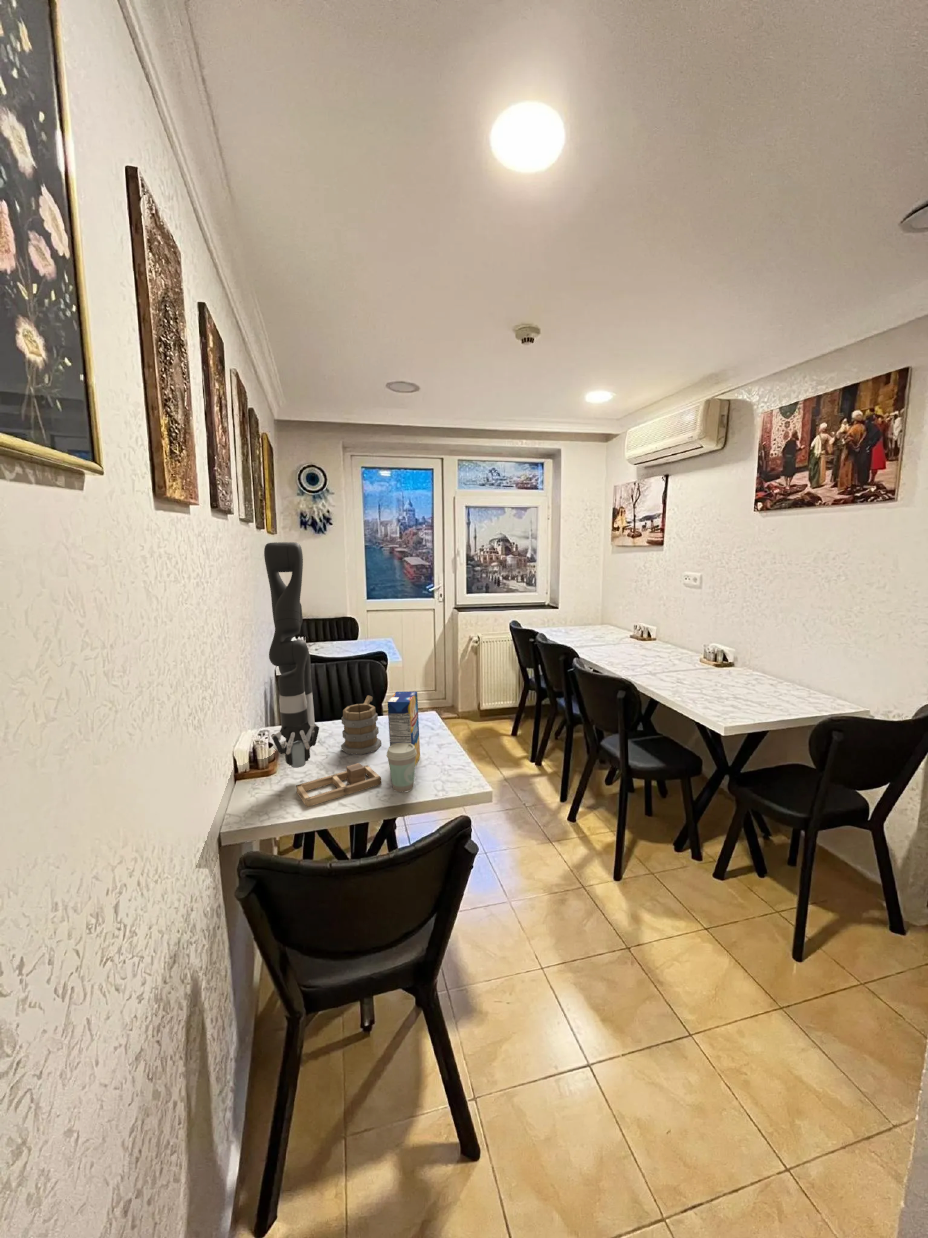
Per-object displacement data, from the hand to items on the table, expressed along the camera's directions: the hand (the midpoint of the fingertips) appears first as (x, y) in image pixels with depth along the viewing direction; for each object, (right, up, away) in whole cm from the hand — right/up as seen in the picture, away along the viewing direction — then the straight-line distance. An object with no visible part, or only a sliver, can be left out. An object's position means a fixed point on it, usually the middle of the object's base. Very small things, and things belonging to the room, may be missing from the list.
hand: (298, 762), depth 147 cm
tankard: (+15, -1, +27) cm, 31 cm away
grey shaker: (0, -1, 0) cm, 1 cm away
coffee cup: (+32, -6, -6) cm, 33 cm away
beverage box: (+31, -3, +10) cm, 33 cm away
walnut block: (+18, -5, -2) cm, 19 cm away
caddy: (+14, -6, -5) cm, 16 cm away
